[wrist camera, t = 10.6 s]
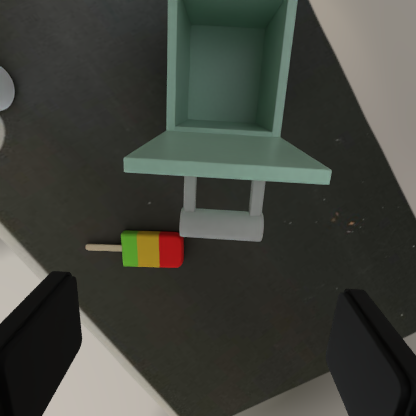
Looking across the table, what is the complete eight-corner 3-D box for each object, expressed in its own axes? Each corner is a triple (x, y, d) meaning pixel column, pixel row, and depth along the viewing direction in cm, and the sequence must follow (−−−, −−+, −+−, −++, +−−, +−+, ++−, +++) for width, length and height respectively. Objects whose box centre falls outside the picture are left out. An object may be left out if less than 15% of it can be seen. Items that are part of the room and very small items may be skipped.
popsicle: (184, 263, 49) (183, 269, 47) (90, 260, 49) (85, 266, 47) (184, 230, 47) (182, 235, 45) (86, 227, 47) (81, 232, 46)
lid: (122, 157, 16) (126, 249, 17) (332, 170, 16) (315, 261, 17) (165, 130, 28) (165, 185, 30) (281, 137, 28) (274, 192, 30)
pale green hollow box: (185, 18, 38) (168, -26, 25) (271, 23, 38) (300, -19, 25) (182, 124, 42) (166, 134, 29) (260, 129, 42) (279, 141, 29)
